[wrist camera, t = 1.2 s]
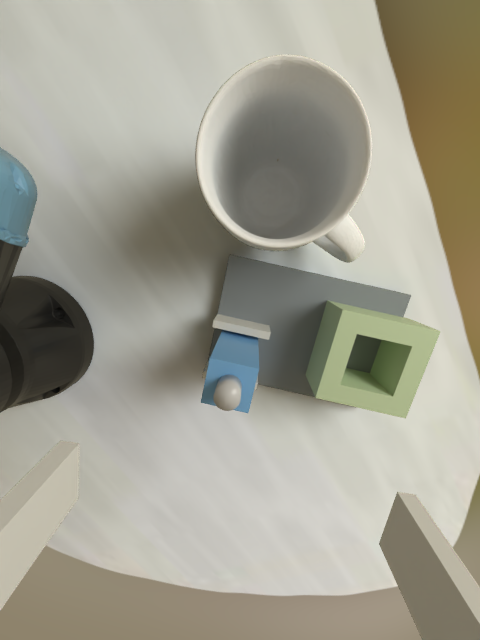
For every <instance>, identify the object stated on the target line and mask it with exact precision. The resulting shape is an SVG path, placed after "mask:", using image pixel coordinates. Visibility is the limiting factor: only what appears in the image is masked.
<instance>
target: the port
mask: <svg viewBox="0 0 480 640" xmlns="http://www.w3.org/2000/svg"><path fill="white" fill-rule="evenodd" d="M357 334H359V335H364V336H368V337H373V338H377V339H382V340H381V343H380V346H379V349H378V352H377V355H376V357H375V360H374V363H373V366H372V369H371V372H370V373H367V372H362V371H358V370H353V369H349V368H346V366H347V363H348V360H349V356H350V353H351V350H352V347H353V344H354V341H355V338H356V335H357ZM439 334H440V331H438V330H436V329H433V328H431V327H428V326H426V325H423V324H421V323H418V322H416V321H413V320H411V319H408V318H404V317H400V316H395V315H391V314H386V313H382V312H377V311H373V310H368V309H364V308H359V307H355V306H350V305H346V304H341V303H337V302H332V301H328V300H327V303H326V306H325V310H324V313H323V317H322V320H321V323H320V327H319V330H318V334H317V337H316V340H315V344H314V347H313V351H312V354H311V357H310V361H309V364H308V368H307V371H306V374H305V375H306V377H307V379H308V382H309V384H310V386H311V389H312V391H313V393H314V396H315V398H318V399H322V400H327V401H331V402H336V403H340V404H344V405H349V406H353V407H358V408H362V409H367V410H371V411H376V412H380V413H384V414H389V415H393V416H398V417H402V418H406V416H407V414H408V411H409V409H410V406H411V404H412V401H413V399H414V396H415V394H416V391H417V389H418V386H419V384H420V381H421V379H422V376H423V374H424V371H425V369H426V366H427V364H428V361H429V359H430V356H431V354H432V351H433V349H434V346H435V344H436V341H437V339H438V336H439Z"/></svg>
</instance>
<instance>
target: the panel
mask: <svg viewBox="0 0 480 640" xmlns="http://www.w3.org/2000/svg"><path fill="white" fill-rule="evenodd" d="M410 297H411V295H409V294H404V293H400V292H396V291H391V290H387V289H382V288H378V287H373V286H369V285H364V284H360V283H355V282H351V281H346V280H342V279H337V278H333V277H328V276H324V275H319V274H315V273H310V272H306V271H301V270H297V269H292V268H288V267H284V266H279V265H275V264H270V263H266V262H261V261H257V260H252V259H248V258H243V257H239V256H234V255H229V260H228V265H227V270H226V275H225V280H224V285H223V290H222V295H221V300H220V305H219V310H218V314H217V316H216V317H215V319H214V321H213V326H212V327H214V328H215V329H214V334H213V339H212V344H211V349H210V354H209V359H208V362H207V364H206V367H205V369H204V371H203V376H202V378H205V379H206V374H207V369H208V365H209V360H210V356H211V354H212V352H213V350H214V348H215V345H216V343H217V341H218V339H219V337H220V334H221V332H222V330H227V331H231V332H236V333H240V334H245V335H249V336H254V337H258V347H259V372H258V376H257V380H256V384H255V388H254V390H256V389H257V385H258V384H259V385H264V386H268V387H273V388H277V389H282V390H286V391H291V392H295V393H299V394H304V395H308V396H313V397H315V396H314V393H313V391H312V389H311V386H310V384H309V382H308V379H307V377H306V375H305V374H306V371H307V368H308V364H309V361H310V357H311V354H312V351H313V347H314V344H315V340H316V337H317V334H318V330H319V327H320V323H321V320H322V317H323V313H324V310H325V306H326V303H327V300H328V301H332V302H337V303H341V304H346V305H350V306H355V307H359V308H364V309H368V310H373V311H377V312H382V313H386V314H391V315H395V316H400V317H403V316H404V314H405V311H406V308H407V305H408V303H409V300H410ZM381 340H382V339H377V338H373V337H368V336H364V335H359V334H357V335H356V338H355V341H354V344H353V347H352V350H351V353H350V356H349V360H348V363H347V366H346V368H349V369H353V370H358V371H362V372H367V373H370V372H371V369H372V366H373V363H374V360H375V357H376V355H377V352H378V349H379V346H380V343H381Z"/></svg>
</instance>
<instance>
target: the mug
mask: <svg viewBox="0 0 480 640" xmlns="http://www.w3.org/2000/svg"><path fill="white" fill-rule="evenodd" d="M371 157H372V136H371V129H370V125H369V121H368V117H367V114H366V112H365V109H364V106H363V104H362V102H361V100H360V98H359V97H358V95H357V94H356V92H355V91H354V89H353V88H352V86H351V85H350V84H349V83H348V82H347V81H346V80H345V79H344V78H343V77H342V76H341V75H340V74H339V73H337V72H336V71H335V70H333V69H332V68H330V67H329V66H327V65H325V64H323V63H321V62H319V61H317V60H314V59H311V58H307V57H304V56H298V55H289V54H288V55H276V56H271V57H266V58H263V59H260V60H258V61H255V62H253V63H251V64H249V65H247V66H245V67H244V68H242V69H241V70H239V71H238V72H236V73H235V74H234V75H233V76H232V77H231V78H229V79H228V80H227V81H226V82H225V83H224V84H223V85H222V86H221V88H220V89H219V90H218V92H217V93H216V94H215V96H214V97H213V99H212V100H211V102H210V104H209V105H208V107H207V109H206V111H205V114H204V116H203V119H202V121H201V124H200V128H199V132H198V136H197V142H196V154H195V160H196V172H197V177H198V182H199V186H200V189H201V192H202V195H203V197H204V199H205V201H206V203H207V205H208V207H209V209H210V210H211V212H212V213H213V215H214V216H215V217H216V219H217V220H218V221H219V223H221V224H222V225H223V226H224V228H225V229H226V230H227V231H228V232H229V233H230V234H231V235H233V236H234V237H235V238H236V239H238V240H240V241H241V242H243V243H245V244H246V245H250V246H252V247H255V248H258V249H263V250H270V251H281V250H283V251H285V250H288V249H294V248H298V247H300V246H303V245H307V244H308V243H310V242H314V243H315V244H316V245H318V246H319V247H321V248H322V249H324V250H325V251H327V252H328V253H330V254H331V255H332V256H334V257H336V258H337V259H339V260H341V261H344V262H352V261H354V260H355V259H357V258H358V257H359V256H360V255H361V253H362V252H363V250H364V248H365V240H364V238H363V235H362V233H361V231H360V230H359V228H358V226H357V225H356V223H355V222H354V221H353V219H352V218H351V217H350V216H349V213H350V212H351V210H352V209H353V207H354V206H355V204H356V203H357V201H358V199H359V197H360V195H361V193H362V191H363V189H364V187H365V184H366V181H367V178H368V175H369V171H370V165H371Z"/></svg>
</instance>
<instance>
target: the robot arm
mask: <svg viewBox="0 0 480 640" xmlns="http://www.w3.org/2000/svg"><path fill="white" fill-rule="evenodd" d="M36 201H37V187H36V184H35V181H34V179H33V177H32V176H31V174H30V173H29V171H28V170H27V169H26V168H25V167H24V165H23V164H22V163H20V162H19V161H18V160H17V159H16V158H15V157H13V156H12V155H11V154H9V153H8V152H7V151H5V150H4V149H2V148H1V147H0V413H1V412H2V411H4V410H6V409H7V408H11V407H15V406H18V405H22V404H26V403H30V402H34V401H38V400H42V399H46V398H50V397H53V396H55V395H57V394H59V393H61V392H63V391H64V390H66V389H67V388H69V387H70V386H72V385H73V384H74V383H76V382H77V381H78V380H79V379H80V378H81V377H82V376H83V375H84V374H85V372H86V371H87V369H88V367H89V365H90V363H91V360H92V356H93V349H94V340H93V333H92V329H91V326H90V323H89V320H88V318H87V316H86V314H85V312H84V311H83V309H82V308H81V306H80V305H79V304H78V302H77V301H76V300H75V299H74V298H73V297H72V296H71V295H70V294H69V293H68V292H66V291H65V290H64V289H62V288H61V287H59V286H58V285H56V284H54V283H52V282H50V281H47V280H45V279H42V278H38V277H33V276H14V277H12V275H13V272H14V270H15V267H16V264H17V261H18V258H19V256H20V253H21V250H22V248H23V247H26V245H27V243H28V242H29V238H28V235H27V233H28V229H29V225H30V222H31V218H32V215H33V211H34V208H35V204H36ZM78 495H79V443H73V442H67V441H60V442H59V443H58V444H57V445H56V446H55V447H54V448H53V449H52V450H51V451H50V452H49V453H48V454H47V455H46V456H45V457H44V458H43V459H42V460H41V461H40V462H39V463H38V464H37V465H36V466H35V467H34V468H32V469H31V470H30V471H29V472H28V473H27V474H26V475H25V476H24V477H23V478H22V479H21V480H20V481H19V482H18V483H17V484H16V485H15V486H14V487H13V488H12V489H11V490H10V491H9V492H8V493H7V494H6V495H5V496H4V497H3V498H2V499H1V500H0V610H1V609H2V607H3V606H4V604H5V603H6V602H7V600H8V599H9V597H10V596H11V594H12V593H13V592H14V590H15V589H16V587H17V586H18V584H19V583H20V581H21V580H22V578H23V577H24V576H25V574H26V573H27V571H28V570H29V568H30V567H31V566H32V564H33V563H34V561H35V560H36V558H37V557H38V556H39V554H40V553H41V551H42V550H43V548H44V547H45V546H46V544H47V543H48V541H49V540H50V538H51V537H52V535H53V534H54V533H55V531H56V530H57V528H58V527H59V525H60V524H61V523H62V521H63V520H64V518H65V517H66V515H67V514H68V512H69V511H70V510H71V508H72V507H73V505H74V504H75V502H76V501H77V500H78ZM379 545H380V547H381V549H382V551H383V554H384V556H385V558H386V560H387V562H388V565H389V567H390V569H391V571H392V574H393V576H394V578H395V580H396V583H397V585H398V587H399V589H400V591H401V594H402V596H403V598H404V600H405V603H406V605H407V607H408V609H409V611H410V614H411V616H412V618H413V620H414V623H415V625H416V627H417V629H418V631H419V633H420V636H421V638H422V640H480V587H479V586H478V584H477V583H476V581H475V580H474V578H473V577H472V575H471V574H470V572H469V571H468V570H467V568H466V567H465V565H464V564H463V563H462V561H461V559H460V558H459V557H458V555H457V554H456V552H455V551H454V549H453V548H452V546H451V545H450V544H449V542H448V541H447V539H446V538H445V536H444V535H443V533H442V532H441V531H440V529H439V528H438V526H437V525H436V523H435V522H434V520H433V519H432V518H431V516H430V515H429V513H428V512H427V510H426V509H425V507H424V506H423V505H422V503H421V502H420V500H419V499H418V497H417V496H416V495H413V494H407V493H400V492H397V494H396V497H395V500H394V503H393V506H392V509H391V511H390V514H389V517H388V520H387V523H386V526H385V528H384V531H383V534H382V537H381V540H380V543H379Z"/></svg>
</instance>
